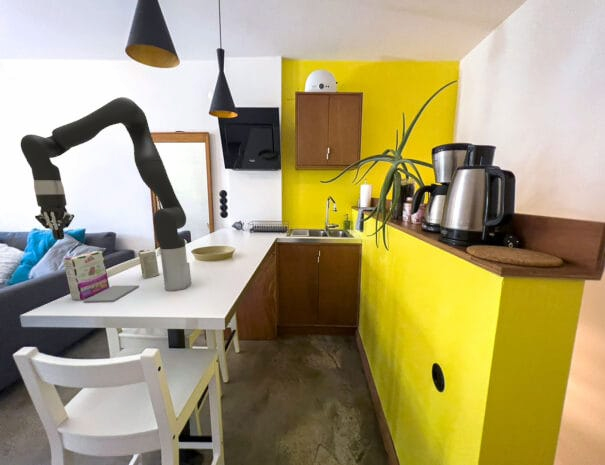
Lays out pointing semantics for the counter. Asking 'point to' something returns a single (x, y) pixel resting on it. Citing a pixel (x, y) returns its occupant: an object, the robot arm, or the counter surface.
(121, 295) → the felt pad
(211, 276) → the counter surface
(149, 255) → the skincare box
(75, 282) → the candy bar box
